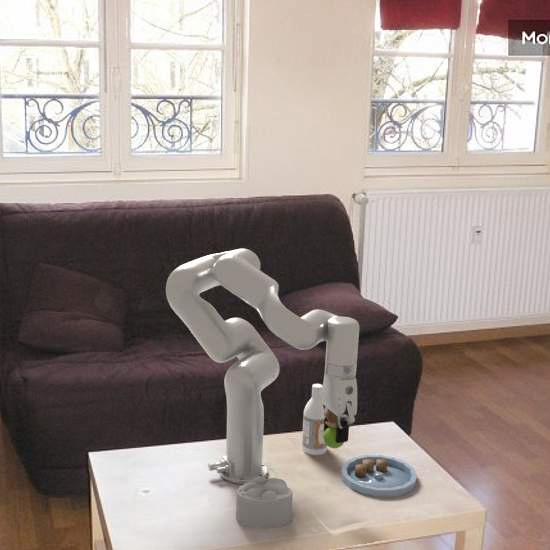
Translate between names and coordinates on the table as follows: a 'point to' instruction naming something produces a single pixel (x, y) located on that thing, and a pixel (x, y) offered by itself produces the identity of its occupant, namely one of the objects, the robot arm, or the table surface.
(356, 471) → the bead
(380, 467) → the bead
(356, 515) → the table surface
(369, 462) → the bead
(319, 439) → the bath foam
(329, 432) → the snail figurine
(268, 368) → the robot arm
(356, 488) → the tray
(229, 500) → the table surface
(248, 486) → the lumpy-topped squat cylinder
